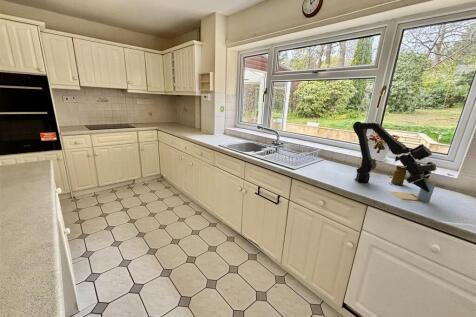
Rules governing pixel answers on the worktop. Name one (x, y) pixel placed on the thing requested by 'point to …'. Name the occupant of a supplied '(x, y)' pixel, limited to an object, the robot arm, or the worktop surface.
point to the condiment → (399, 176)
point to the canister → (424, 195)
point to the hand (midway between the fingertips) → (430, 190)
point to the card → (407, 197)
